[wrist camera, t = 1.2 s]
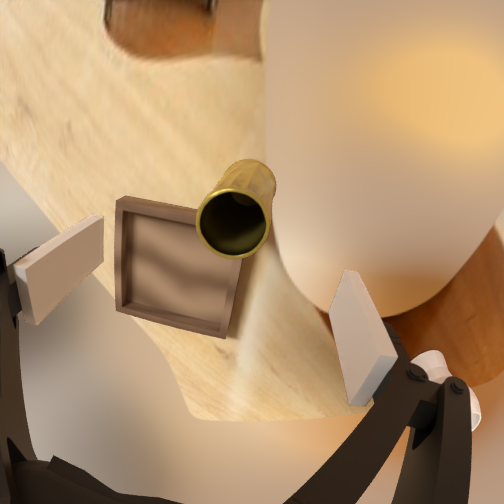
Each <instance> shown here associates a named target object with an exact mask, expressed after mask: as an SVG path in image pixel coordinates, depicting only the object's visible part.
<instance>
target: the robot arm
mask: <svg viewBox="0 0 504 504" xmlns="http://www.w3.org/2000/svg"><path fill="white" fill-rule="evenodd" d="M103 232H104V216H99V215H95V214H92V215H90V216H88V217H87V218H85V219H83V220H82V221H80V222H78V223H77V224H75V225H73V226H72V227H70V228H68V229H67V230H65V231H63V232H62V233H60V234H59V235H57V236H55V237H54V238H53V239H51V240H49V241H48V242H46V243H44V244H43V245H41V246H39V247H36V248H34V249H32V250H31V251H29V252H28V253H27V254H25V255H23V256H22V257H20V258H19V259H17V260H16V261H15V262H13V263H12V264H10V265H9V266H6V260H5V254H4V250H3V249H0V504H181V503H178V502H174V501H170V500H166V499H163V498H159V497H147V496H137V495H128V494H121V493H117V492H115V491H113V490H112V489H110V488H109V487H107V486H106V485H104V484H103V483H101V482H100V481H98V480H97V479H96V478H94V477H93V476H91V475H90V474H89V473H87V472H86V471H85V470H82V469H80V468H78V467H76V466H74V465H72V464H70V463H68V462H66V461H64V460H62V459H59V458H58V457H56V456H53V457H52V459H51V461H50V462H48V461H41V460H38V459H37V457H36V455H35V453H34V450H33V447H32V444H31V439H30V434H29V429H28V423H27V418H26V411H25V405H24V398H23V389H22V380H21V369H20V354H19V320H18V316H17V314H18V313H19V312H20V311H21V310H22V312H23V316H24V320H25V321H26V322H28V323H30V324H33V325H35V326H37V325H38V324H39V323H40V322H41V321H42V320H43V319H44V318H45V317H46V316H47V315H48V314H49V313H50V312H51V311H52V310H53V309H54V308H55V307H56V306H57V305H58V304H59V303H60V302H61V301H62V300H63V299H64V298H65V297H66V296H67V295H68V294H69V293H70V292H71V291H72V290H73V289H74V288H75V287H76V286H77V285H78V284H80V283H81V282H82V281H83V280H84V279H85V278H86V277H87V276H88V275H89V274H90V273H91V272H92V271H94V270H95V269H96V268H97V267H98V266H99V265H100V264H101V263H102V262H103V261H104V256H103ZM328 313H329V317H330V321H331V325H332V330H333V334H334V338H335V342H336V347H337V351H338V356H339V360H340V365H341V369H342V374H343V379H344V384H345V389H346V393H347V398H348V404H349V405H353V406H366V405H367V404H368V402H369V401H370V400H371V398H372V397H373V400H374V403H375V404H374V405H373V406H372V408H371V409H370V410H369V412H368V413H367V414H366V416H365V417H364V418H363V419H362V421H361V422H360V423H359V424H358V426H357V427H356V428H355V429H354V430H353V432H352V433H351V434H350V435H349V436H348V438H347V439H346V440H345V441H344V442H343V444H342V445H341V446H340V447H339V448H338V449H337V450H336V452H335V453H334V454H333V455H332V456H331V457H330V458H329V459H328V460H327V462H325V463H324V465H323V466H322V467H321V468H320V469H319V470H318V471H317V472H316V473H315V474H314V475H313V476H312V477H311V478H310V479H309V480H308V481H307V482H306V483H305V484H304V485H303V486H302V487H301V488H300V489H299V490H298V491H297V492H296V493H294V494H293V495H292V496H291V497H290V498H289V499H288V500H286V502H284V503H283V504H355V503H356V502H357V501H358V499H359V498H360V497H361V496H362V494H363V493H364V491H365V490H366V489H367V487H368V486H369V485H370V483H371V482H372V480H373V479H374V478H375V476H376V475H377V473H378V472H379V470H380V469H381V467H382V466H383V464H384V463H385V461H386V460H387V458H388V456H389V455H390V453H391V452H392V450H393V448H394V446H395V445H396V443H397V442H398V440H399V438H400V437H401V435H402V433H403V431H404V429H405V428H406V426H409V427H411V428H410V434H409V438H408V443H407V448H406V452H405V457H404V461H403V465H402V469H401V473H400V477H399V480H398V484H397V487H396V491H395V494H394V497H393V500H392V503H391V504H468V497H469V487H470V474H471V455H472V422H471V401H470V391H469V388H468V386H467V385H466V383H465V382H463V380H461V379H459V378H457V377H454V376H450V377H447V378H446V379H445V381H444V382H443V383H442V384H439V383H436V382H433V381H430V380H429V377H428V375H427V373H426V372H425V370H424V369H423V368H421V367H420V366H418V365H416V364H414V363H411V361H410V359H409V357H408V355H407V352H406V350H405V348H404V346H403V345H402V342H401V340H400V339H399V336H398V334H397V332H396V330H395V329H394V328H393V327H392V326H391V325H390V324H389V323H387V322H382V320H381V318H380V316H379V314H378V312H377V309H376V307H375V305H374V303H373V301H372V299H371V297H370V295H369V293H368V291H367V289H366V287H365V285H364V283H363V281H362V279H361V277H360V275H359V273H358V272H356V271H352V270H347V269H345V270H344V273H343V275H342V278H341V281H340V284H339V286H338V289H337V291H336V294H335V297H334V299H333V302H332V304H331V307H330V309H329V312H328Z"/></svg>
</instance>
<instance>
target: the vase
mask: <svg viewBox="0 0 504 504" xmlns="http://www.w3.org/2000/svg"><path fill="white" fill-rule="evenodd" d="M275 192H276V181H275V177H274V175H273V173H272V171H271V170H270V169H269V168H268V167H267V166H266V165H264V164H263V163H261V162H260V161H256V160H252V159H245V160H241V161H238V162H235V163H234V164H232V165H231V166H230V167H229V168H228V169H227V171H226V172H225V174H224V176H223V177H222V178H221V180H220V181H219V182H218V184H217V185H216V187H215V188H214V190H213V191H212V192H210V193H209V194H208V195H207V197H206V198H205V199H204V201H203V202H202V204H201V205H200V207H199V209H198V211H197V215H196V231H197V234H198V236H199V238H200V240H201V241H202V243H203V244H204V245H205V246H206V247H207V248H208V249H209V250H210V251H211V252H213V253H214V254H216V255H218V256H220V257H223V258H227V259H240V258H245V257H248V256H251V255H252V254H254V253H255V252H257V251H258V250H259V249H260V248H261V246H262V245H263V244H264V242H265V241H266V239H267V237H268V235H269V229H270V225H271V219H272V200H273V197H274V195H275Z"/></svg>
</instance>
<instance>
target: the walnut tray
mask: <svg viewBox="0 0 504 504" xmlns="http://www.w3.org/2000/svg"><path fill="white" fill-rule="evenodd" d="M197 211H198V210H197V209H192V208H187V207H182V206H177V205H172V204H167V203H162V202H156V201H151V200H146V199H140V198H135V197H130V196H124V197H122V198H120V199H118V200H116V211H115V242H114V271H115V302H116V311H118V312H121V313H125V314H128V315H132V316H135V317H138V318H142V319H146V320H149V321H153V322H156V323H160V324H164V325H168V326H171V327H175V328H179V329H183V330H187V331H191V332H196V333H200V334H204V335H208V336H213V337H217V338H222V339H226V335H227V331H228V326H229V322H230V317H231V312H232V307H233V302H234V297H235V293H236V288H237V283H238V278H239V273H240V269H241V264H242V259H243V258H240V259H227V258H223V257H220V256H218V255H216V254H214V253H213V252H211V251H210V250H209V249H208V248H207V247H206V246H205V245H204V244H203V243H202V241H201V240H200V238H199V236H198V234H197V231H196V215H197Z"/></svg>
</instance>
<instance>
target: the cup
mask: <svg viewBox="0 0 504 504" xmlns="http://www.w3.org/2000/svg"><path fill="white" fill-rule="evenodd" d="M411 363H414V364H416V365H418V366H420V367H421V368H423V369H424V370H425V372H426V373H427V375H428V377H429V380H430V381H433V382H436V383H439V384H442V383H443V382H444V381H445V379H446V378H447V377H450V376H452V375H451V373H450V372H449V371H448V368H447V365H446V362H445V359H444V356H443V354H442V353H441V352H439V351H436V350H431V351H427V352H424V353H422V354H420V355H418V356H417V357H415V358H414V359H413V360H412V361H411ZM468 388H469V391H470V401H471V422H472V431H473V430H474V429H475V428H476V427H477V425H478V424H479V422H480V420H481V412H480V407H479V402H478V400H477V398H476V396H475V394H474V392H473V391H472V389H471V388H470V387H468Z"/></svg>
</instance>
